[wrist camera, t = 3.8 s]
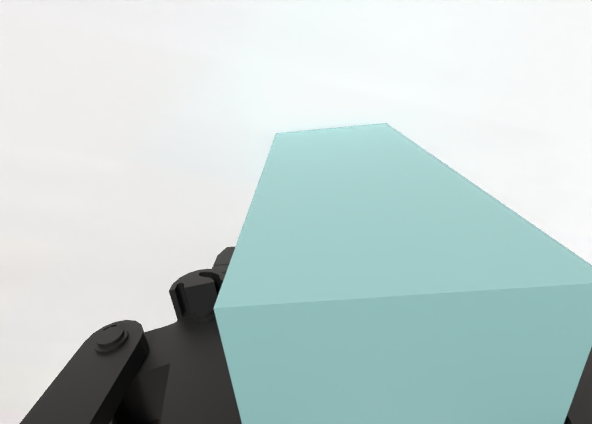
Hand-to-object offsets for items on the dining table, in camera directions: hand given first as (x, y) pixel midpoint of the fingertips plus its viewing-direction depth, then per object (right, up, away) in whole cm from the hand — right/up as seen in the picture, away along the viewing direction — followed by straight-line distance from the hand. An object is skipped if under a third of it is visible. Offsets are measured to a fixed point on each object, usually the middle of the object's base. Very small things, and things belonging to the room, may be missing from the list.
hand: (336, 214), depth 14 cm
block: (0, +1, +1) cm, 1 cm away
